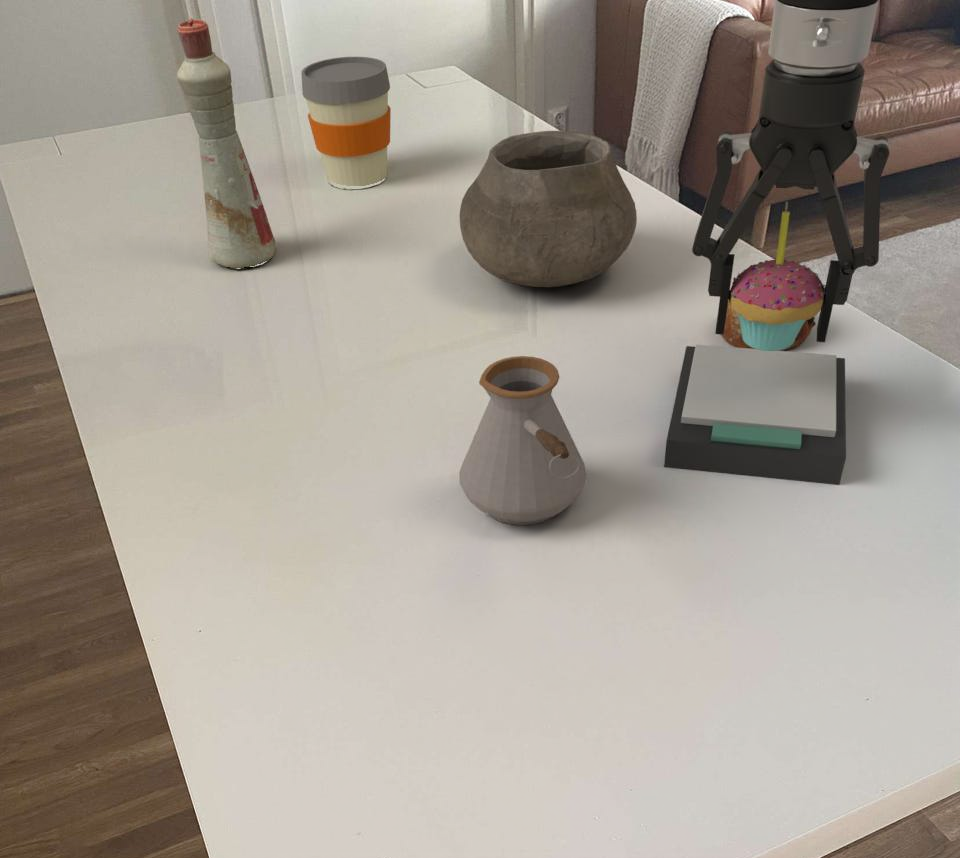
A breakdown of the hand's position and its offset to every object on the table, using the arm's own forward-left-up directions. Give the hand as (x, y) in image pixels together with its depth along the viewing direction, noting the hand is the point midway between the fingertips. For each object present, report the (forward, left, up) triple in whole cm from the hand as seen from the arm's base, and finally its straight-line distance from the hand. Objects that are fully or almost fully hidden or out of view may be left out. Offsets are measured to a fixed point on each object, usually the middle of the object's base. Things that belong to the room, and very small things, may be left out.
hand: (770, 331), depth 94 cm
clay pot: (+27, -29, -10) cm, 41 cm away
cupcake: (0, 0, -1) cm, 1 cm away
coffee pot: (+18, +22, -10) cm, 30 cm away
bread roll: (0, -18, -10) cm, 20 cm away
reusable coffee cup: (+62, -57, -10) cm, 85 cm away
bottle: (+68, -28, -10) cm, 74 cm away
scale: (0, +1, -9) cm, 9 cm away
